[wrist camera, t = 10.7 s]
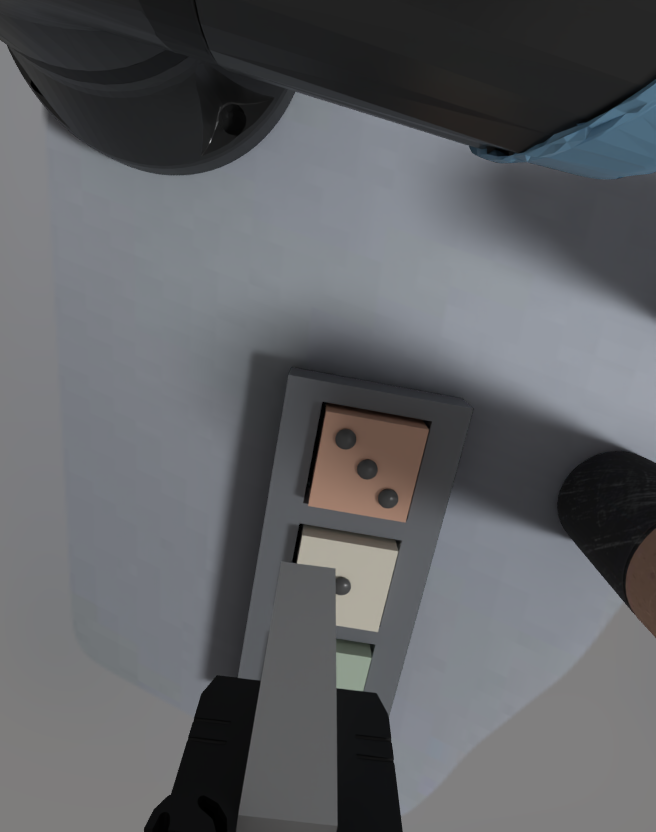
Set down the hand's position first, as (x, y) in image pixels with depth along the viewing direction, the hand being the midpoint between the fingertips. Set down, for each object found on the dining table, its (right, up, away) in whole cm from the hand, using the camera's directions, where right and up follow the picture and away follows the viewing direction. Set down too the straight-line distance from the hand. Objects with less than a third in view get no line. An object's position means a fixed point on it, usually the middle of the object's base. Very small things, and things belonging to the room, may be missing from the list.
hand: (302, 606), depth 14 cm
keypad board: (+2, -4, +21) cm, 21 cm away
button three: (+3, +3, +18) cm, 19 cm away
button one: (+2, -5, +21) cm, 21 cm away
